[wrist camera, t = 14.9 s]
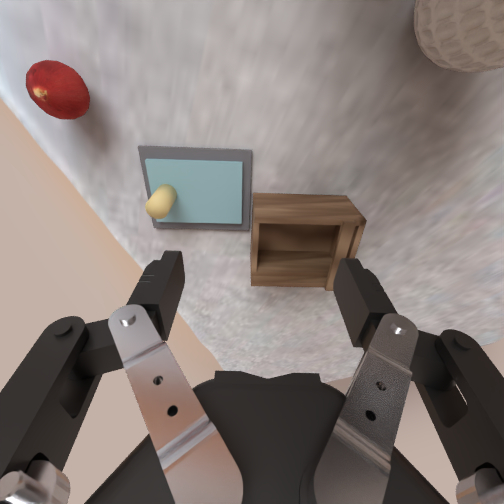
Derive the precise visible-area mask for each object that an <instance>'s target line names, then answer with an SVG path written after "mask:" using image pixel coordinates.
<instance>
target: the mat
mask: <svg viewBox="0 0 504 504" xmlns="http://www.w3.org/2000/svg"><path fill="white" fill-rule="evenodd" d="M138 150H139V155H140V160H141V165H142V170H143V175H144V180H145V185H146V191H147V196H148V200H149V199H150V197H151V196H152V195H151V190H150V185H149V180H148V174H147V169H146V164H145V160H146V159H174V160H206V161H237V162H242V223H241V224H230V223H186V222H157V221H156V219H155V218H153V217H152V221H153V226H154V228H179V229H218V230H249V210H250V184H251V158H252V150H241V149H214V148H188V147H162V146H138Z"/></svg>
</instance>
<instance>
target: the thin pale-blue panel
mask: <svg viewBox="0 0 504 504" xmlns="http://www.w3.org/2000/svg"><path fill="white" fill-rule="evenodd" d="M145 164H146V169H147V174H148V180H149V185H150V190H151V195H152V196H151V197H150V199H149V200H148V201H147V203H146V206H145V208H146V211H147V213H148V214H149V215H150V216H151V217H153V218H155V219H156V221H157V222H186V223H230V224H241V223H242V162H237V161H206V160H174V159H146V160H145Z"/></svg>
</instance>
